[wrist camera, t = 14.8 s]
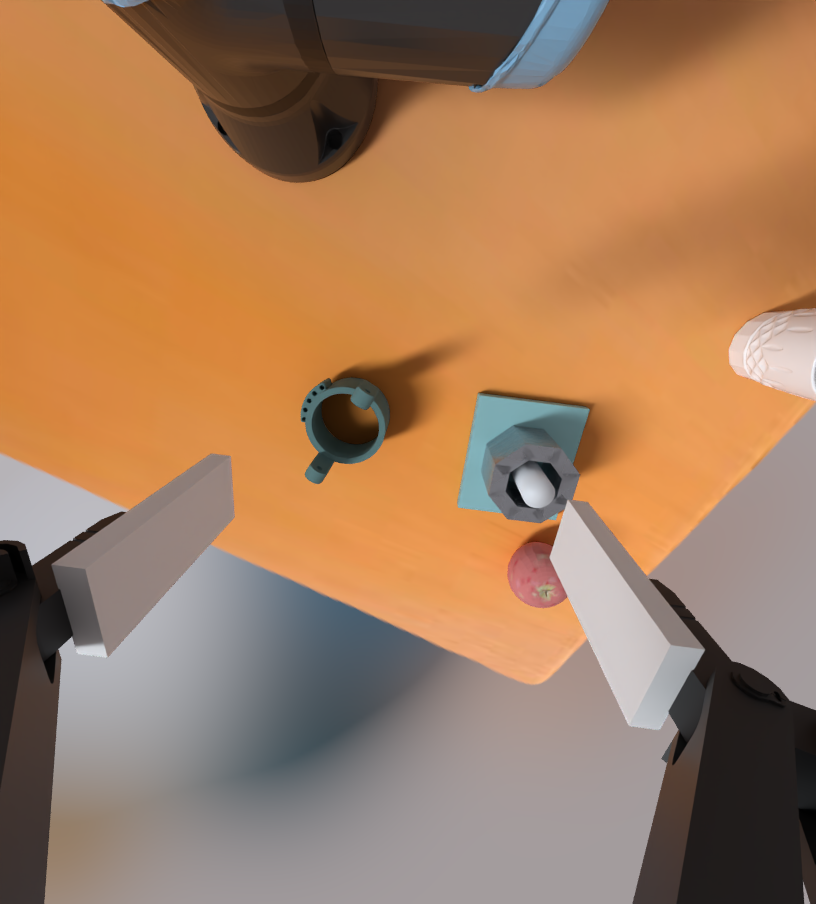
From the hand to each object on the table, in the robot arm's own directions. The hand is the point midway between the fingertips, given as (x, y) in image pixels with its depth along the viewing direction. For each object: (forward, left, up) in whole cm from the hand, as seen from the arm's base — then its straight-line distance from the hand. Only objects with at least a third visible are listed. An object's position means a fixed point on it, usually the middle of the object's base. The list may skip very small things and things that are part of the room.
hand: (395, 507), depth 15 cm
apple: (+21, +18, -29) cm, 40 cm away
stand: (+8, +13, -29) cm, 33 cm away
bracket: (+5, -7, -29) cm, 30 cm away
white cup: (-8, +35, -29) cm, 46 cm away
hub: (+8, +13, -28) cm, 31 cm away
